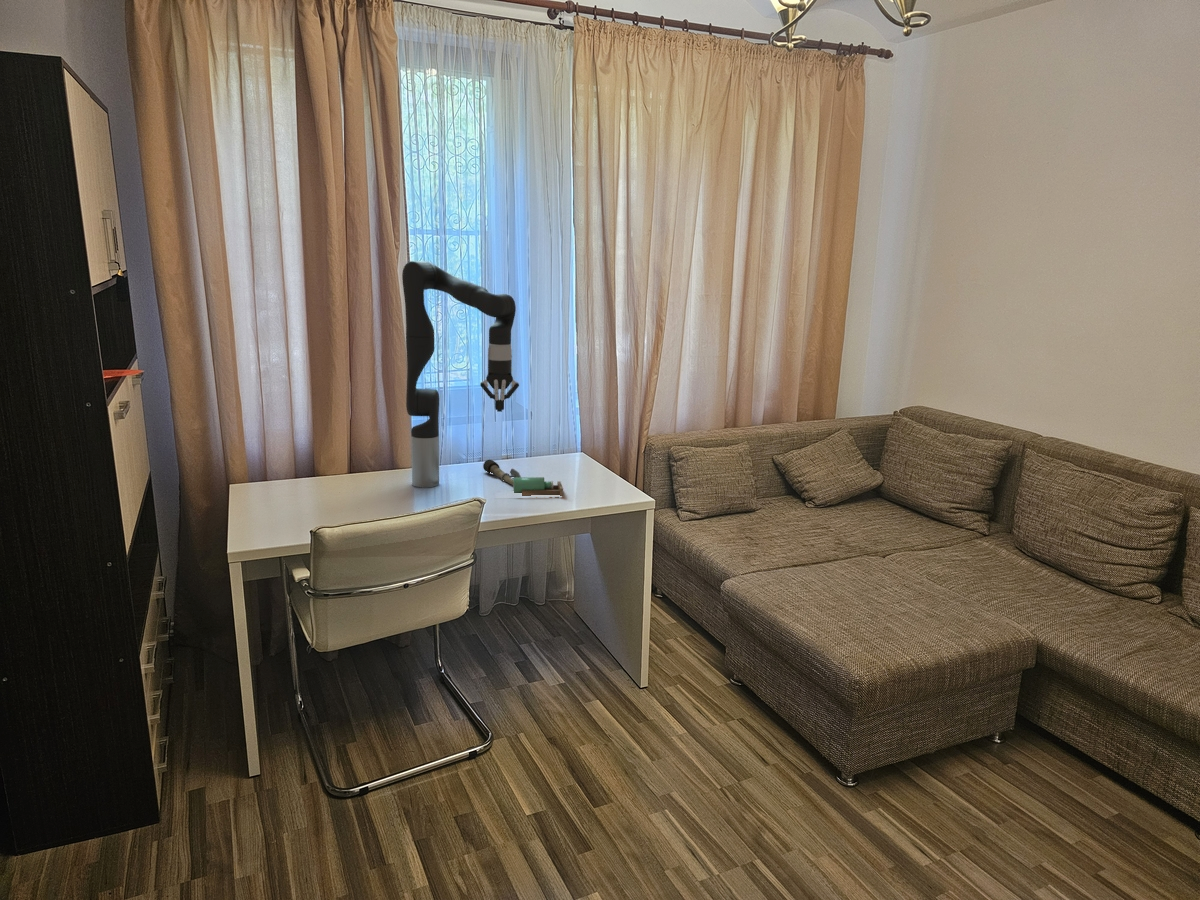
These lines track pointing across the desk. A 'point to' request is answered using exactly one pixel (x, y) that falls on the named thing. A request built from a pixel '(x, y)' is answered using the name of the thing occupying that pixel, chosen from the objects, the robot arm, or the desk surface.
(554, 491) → the cradle
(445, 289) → the robot arm
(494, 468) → the wall sconce
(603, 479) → the desk surface
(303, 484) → the desk surface
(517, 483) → the bottle
